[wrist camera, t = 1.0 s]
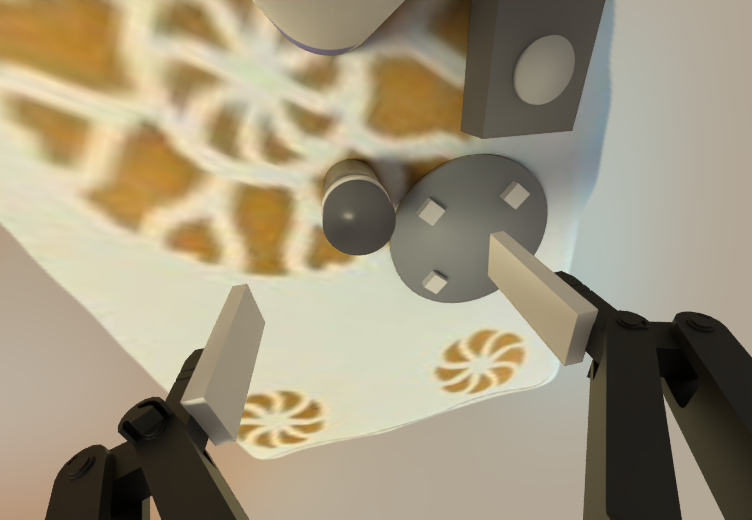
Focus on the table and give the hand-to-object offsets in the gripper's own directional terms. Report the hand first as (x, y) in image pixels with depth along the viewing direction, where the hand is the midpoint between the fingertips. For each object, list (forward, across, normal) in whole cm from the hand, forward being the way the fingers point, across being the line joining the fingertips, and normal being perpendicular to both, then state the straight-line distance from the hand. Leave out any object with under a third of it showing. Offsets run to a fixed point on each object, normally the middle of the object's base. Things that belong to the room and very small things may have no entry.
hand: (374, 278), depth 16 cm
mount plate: (+16, +12, -8) cm, 22 cm away
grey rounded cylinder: (+16, 0, 0) cm, 16 cm away
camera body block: (+17, +16, +9) cm, 25 cm away
